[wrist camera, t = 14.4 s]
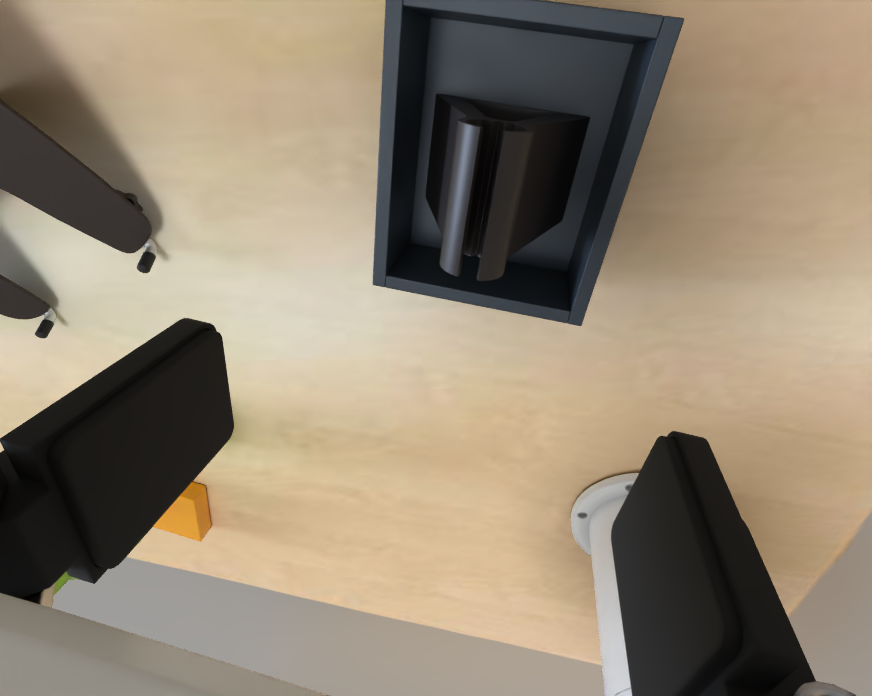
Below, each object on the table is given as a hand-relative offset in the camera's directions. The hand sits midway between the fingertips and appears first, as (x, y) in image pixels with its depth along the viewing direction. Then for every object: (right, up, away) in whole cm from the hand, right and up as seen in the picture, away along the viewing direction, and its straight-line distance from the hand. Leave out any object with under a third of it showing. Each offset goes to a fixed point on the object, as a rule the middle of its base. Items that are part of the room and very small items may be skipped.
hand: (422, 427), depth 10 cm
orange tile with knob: (-31, -16, +46) cm, 58 cm away
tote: (+5, +14, +19) cm, 24 cm away
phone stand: (+4, +13, +19) cm, 23 cm away
